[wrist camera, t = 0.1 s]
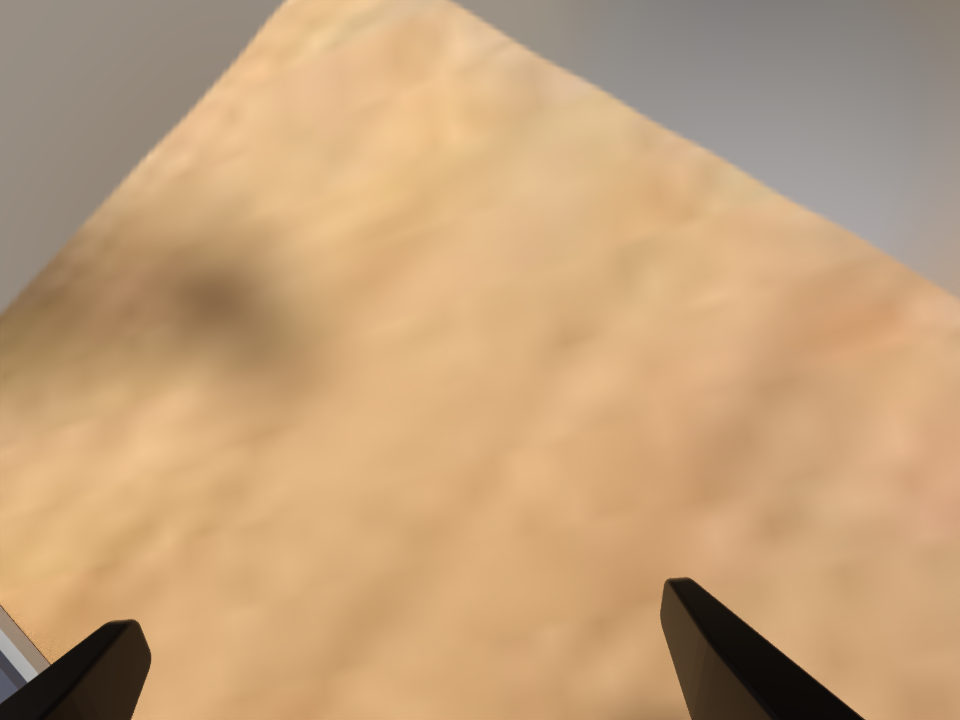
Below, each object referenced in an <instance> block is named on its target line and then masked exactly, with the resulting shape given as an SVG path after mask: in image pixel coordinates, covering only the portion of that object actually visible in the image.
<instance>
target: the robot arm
mask: <svg viewBox="0 0 960 720" xmlns="http://www.w3.org/2000/svg"><path fill="white" fill-rule="evenodd" d="M660 619H661V624H662V628H663V632H664V635H665V638H666V641H667V644H668V647H669V651H670V654H671V657H672V660H673V663H674V667H675V670H676V673H677V676H678V679H679V682H680V686H681V689H682V692H683V695H684V698H685V701H686V705H687V708H688V711H689V714H690V717H691V719H692V720H865V719H864V718H863V717H861V716H860V715H859V714H858V713H856V712H855V711H854V710H853V709H851V708H850V707H849V706H848V705H847V704H845V703H844V702H843V701H842V700H840V699H839V698H838V697H837V696H835V695H834V694H833V693H832V692H830V691H829V690H828V689H827V688H826V687H824V686H823V685H822V684H821V683H819V682H818V681H817V680H816V679H814V678H813V677H812V676H811V675H810V674H808V673H807V672H806V671H805V670H803V669H802V668H801V667H800V666H798V665H797V664H796V663H795V662H794V661H792V660H791V659H790V658H789V657H787V656H786V655H785V654H784V653H782V652H781V651H780V650H779V649H778V648H776V647H775V646H774V645H773V644H771V643H770V642H769V641H768V640H766V639H765V638H764V637H763V636H762V635H760V634H759V633H758V632H757V631H755V630H754V629H753V628H752V627H750V626H749V625H748V624H747V623H746V622H744V621H743V620H742V619H741V618H739V617H738V616H737V615H736V614H734V613H733V612H732V611H731V610H730V609H728V608H727V607H726V606H725V605H723V604H722V603H721V602H720V601H718V600H717V599H716V598H715V597H713V596H712V595H711V594H710V593H709V592H707V591H706V590H705V589H704V588H702V587H701V586H700V585H699V584H697V583H696V582H695V581H694V580H692V579H690V578H687V577H683V578H670V579H667V580H666V581H665V584H664V589H663V596H662V603H661V610H660ZM150 664H151V652H150V649H149V646H148V644H147V641H146V639H145V636H144V634H143V631H142V629H141V626H140V624H139V622H137V621H136V620H133V619H128V620H115V621H110V622H108V623H106V624H104V625H103V626H101V627H100V628H99V629H97V630H96V631H95V632H93V633H92V634H91V635H89V636H88V637H87V638H86V639H84V640H83V641H82V642H80V643H79V644H78V645H76V646H75V647H74V648H72V649H71V650H70V651H68V652H67V653H66V654H65V655H63V656H62V657H61V658H59V659H58V660H57V661H55V662H54V663H53V664H51V665H50V666H49V667H47V668H46V669H45V670H44V671H42V672H41V673H40V674H38V675H37V676H36V677H34V678H33V679H32V680H30V681H29V682H28V683H27V684H25V685H24V686H23V687H21V688H20V689H19V690H17V691H16V692H15V693H13V694H12V695H11V696H9V697H8V698H7V699H6V700H4V701H3V702H2V703H0V720H131V718H132V716H133V713H134V710H135V707H136V705H137V702H138V699H139V696H140V694H141V691H142V688H143V685H144V683H145V680H146V677H147V674H148V672H149V669H150Z"/></svg>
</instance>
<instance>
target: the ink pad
mask: <svg viewBox="0 0 960 720" xmlns="http://www.w3.org/2000/svg"><path fill="white" fill-rule="evenodd" d="M49 666H50V664H49V663H48V662H47V660H46V659H45V658H44V657H43V656H42V655H41V653H40V652H39V651H38V650H37V649H36V648H35V646H34V645H33V644H32V643H31V642H30V640H29V639H28V638H27V637H26V636H25V635H24V633H23V632H22V631H21V630H20V629H19V627H18V626H17V625H16V624H15V623H14V622H13V620H12V619H11V618H10V617H9V616H8V614H7V613H6V612H5V611H4V610H3V609H2V607H1V606H0V703H2V702H3V701H4V700H6V699H7V698H8V697H9V696H11V695H12V694H13V693H15V692H16V691H17V690H19V689H20V688H21V687H23V686H24V685H25V684H27V683H28V682H29V681H30V680H32V679H33V678H34V677H36V676H37V675H38V674H40V673H41V672H42V671H44V670H45V669H46V668H47V667H49Z"/></svg>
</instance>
